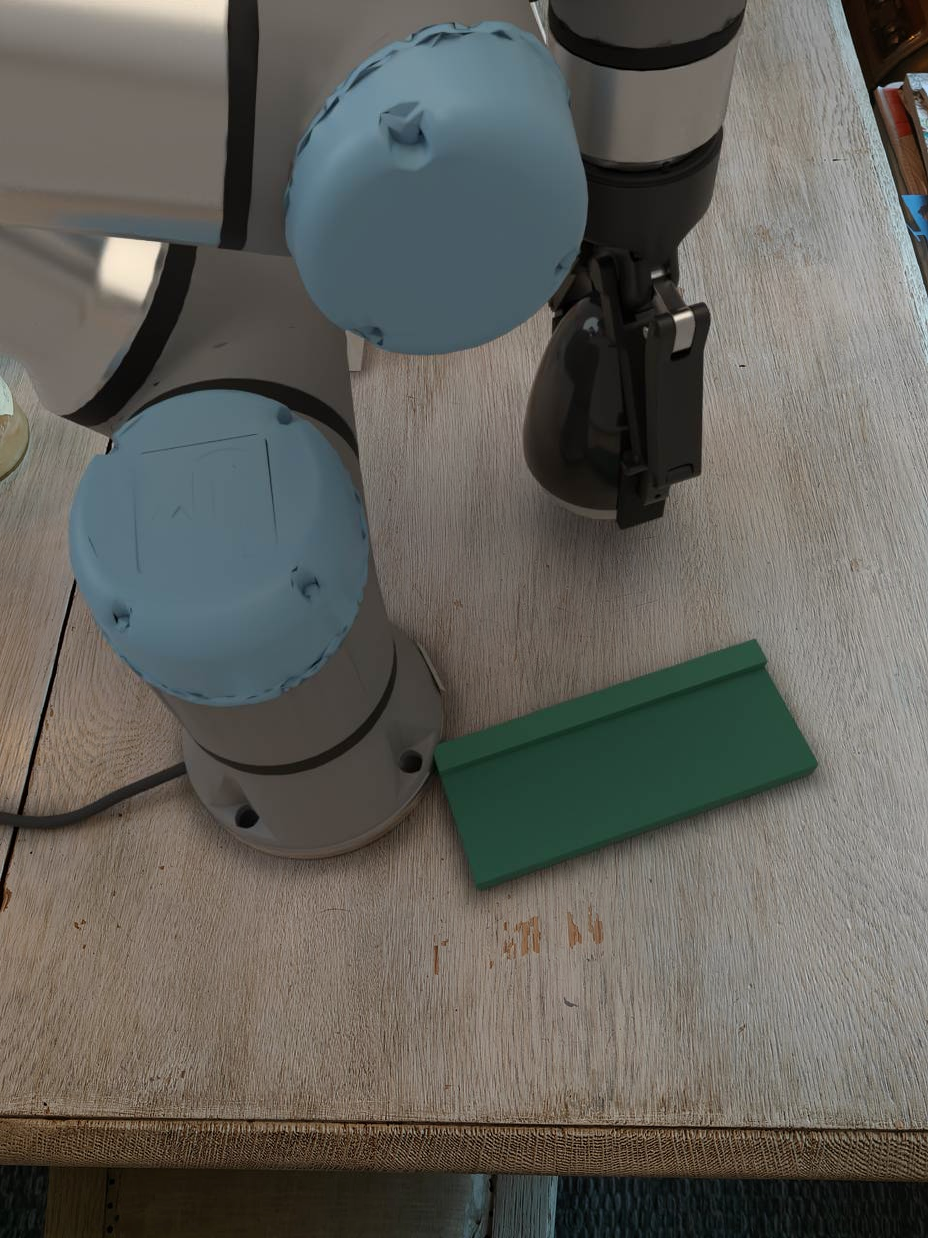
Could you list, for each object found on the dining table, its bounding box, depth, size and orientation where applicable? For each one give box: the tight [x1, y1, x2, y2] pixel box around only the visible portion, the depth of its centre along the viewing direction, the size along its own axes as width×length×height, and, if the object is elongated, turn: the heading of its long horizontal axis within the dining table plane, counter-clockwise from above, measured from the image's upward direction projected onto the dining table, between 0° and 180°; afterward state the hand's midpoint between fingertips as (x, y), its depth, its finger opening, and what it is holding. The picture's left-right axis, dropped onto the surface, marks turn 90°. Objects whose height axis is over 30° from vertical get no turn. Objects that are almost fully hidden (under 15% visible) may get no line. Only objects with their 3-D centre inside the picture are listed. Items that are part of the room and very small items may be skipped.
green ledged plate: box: [433, 638, 819, 892], centre depth 54 cm, size 20×8×2 cm, turn 108°
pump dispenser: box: [522, 280, 673, 520], centre depth 56 cm, size 10×10×15 cm
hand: (604, 452), depth 60 cm, fingers closed on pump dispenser, 10 cm apart
